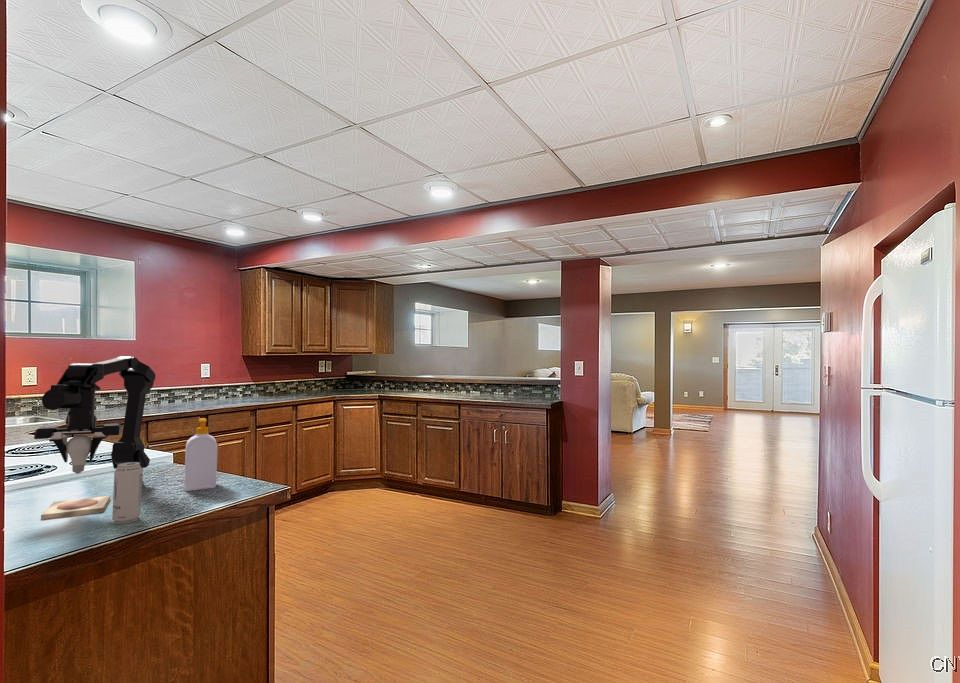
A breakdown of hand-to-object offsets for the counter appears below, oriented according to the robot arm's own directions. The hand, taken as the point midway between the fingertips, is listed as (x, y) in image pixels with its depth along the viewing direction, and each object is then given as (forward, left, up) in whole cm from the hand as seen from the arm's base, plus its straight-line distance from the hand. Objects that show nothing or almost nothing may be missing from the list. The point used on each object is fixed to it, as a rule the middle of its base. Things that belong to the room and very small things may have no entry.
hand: (78, 461), depth 135 cm
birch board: (-1, +1, -13) cm, 13 cm away
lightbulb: (0, 0, -4) cm, 4 cm away
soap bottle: (-31, -9, -14) cm, 35 cm away
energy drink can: (-14, +19, -14) cm, 27 cm away
